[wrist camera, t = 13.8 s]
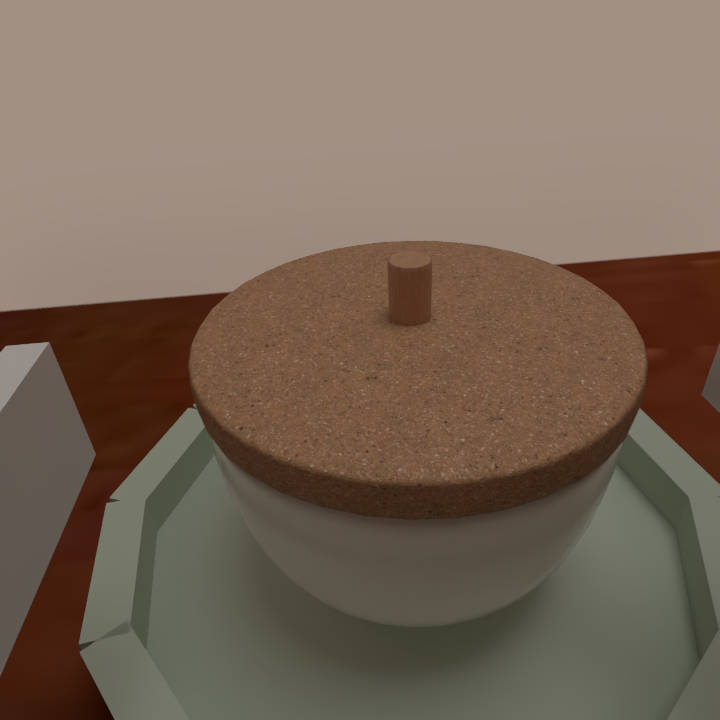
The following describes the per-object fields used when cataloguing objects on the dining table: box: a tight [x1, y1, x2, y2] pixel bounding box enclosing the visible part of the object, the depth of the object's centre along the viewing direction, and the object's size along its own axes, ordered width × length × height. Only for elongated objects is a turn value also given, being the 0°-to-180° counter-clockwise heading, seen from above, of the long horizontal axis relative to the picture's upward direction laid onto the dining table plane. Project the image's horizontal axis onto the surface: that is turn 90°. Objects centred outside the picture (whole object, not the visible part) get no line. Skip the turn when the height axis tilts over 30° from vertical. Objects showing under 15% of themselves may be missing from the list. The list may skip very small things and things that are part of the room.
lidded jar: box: [188, 241, 649, 628], centre depth 15 cm, size 11×11×9 cm
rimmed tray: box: [79, 404, 720, 720], centre depth 18 cm, size 18×18×2 cm
